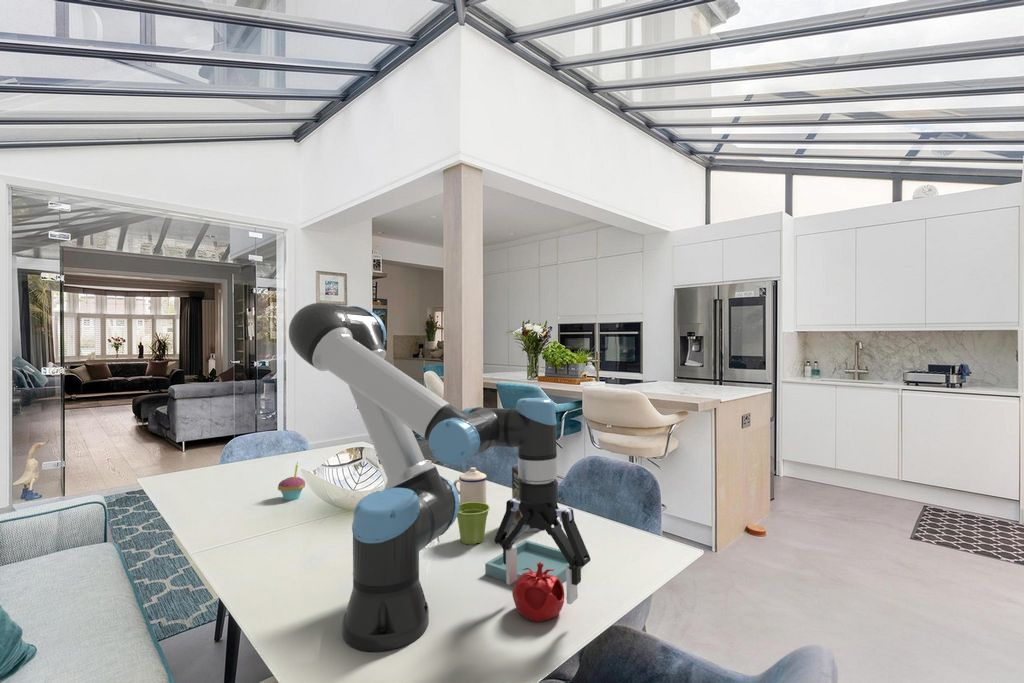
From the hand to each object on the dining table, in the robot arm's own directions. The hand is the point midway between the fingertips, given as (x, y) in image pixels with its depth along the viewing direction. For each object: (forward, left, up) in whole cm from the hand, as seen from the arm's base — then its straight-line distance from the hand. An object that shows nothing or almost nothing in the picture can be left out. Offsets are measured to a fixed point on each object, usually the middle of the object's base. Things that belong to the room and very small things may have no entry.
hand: (540, 590), depth 91 cm
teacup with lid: (+42, +54, -4) cm, 69 cm away
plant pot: (+19, +33, -4) cm, 39 cm away
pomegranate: (0, 0, -4) cm, 4 cm away
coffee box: (+36, +27, -4) cm, 45 cm away
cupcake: (+11, +107, -4) cm, 108 cm away
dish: (+14, +10, -4) cm, 18 cm away
